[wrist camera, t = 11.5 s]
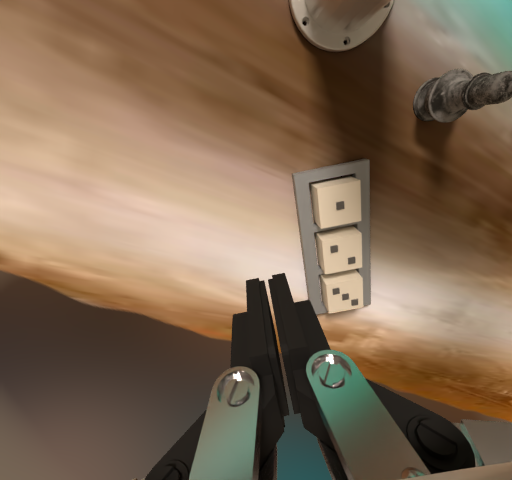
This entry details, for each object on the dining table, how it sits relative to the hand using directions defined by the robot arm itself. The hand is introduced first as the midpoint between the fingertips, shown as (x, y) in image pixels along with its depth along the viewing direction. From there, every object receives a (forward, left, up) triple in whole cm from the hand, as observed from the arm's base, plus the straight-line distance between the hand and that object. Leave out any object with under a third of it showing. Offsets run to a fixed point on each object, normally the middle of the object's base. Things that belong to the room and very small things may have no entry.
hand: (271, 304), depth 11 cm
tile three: (+21, +12, -29) cm, 38 cm away
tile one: (+5, +12, -29) cm, 32 cm away
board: (+13, +12, -29) cm, 34 cm away
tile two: (+13, +12, -29) cm, 34 cm away
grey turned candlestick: (-6, +27, -29) cm, 40 cm away
